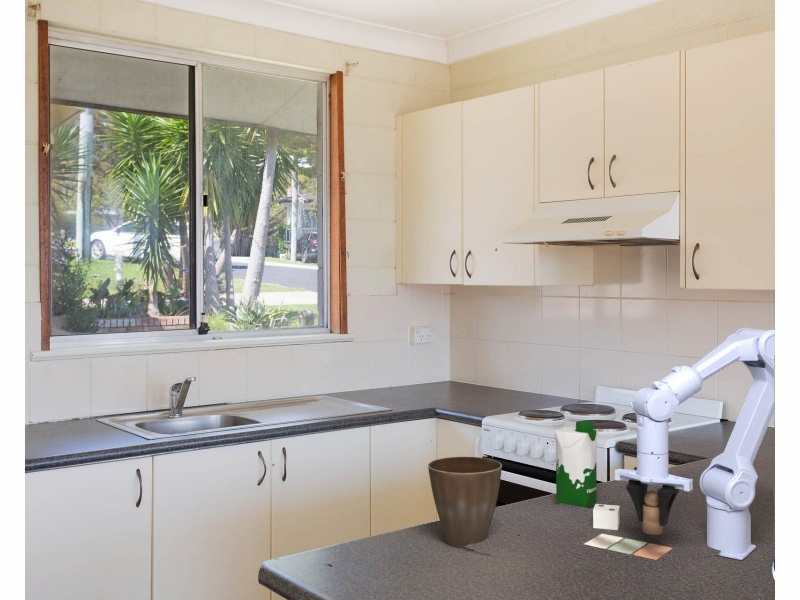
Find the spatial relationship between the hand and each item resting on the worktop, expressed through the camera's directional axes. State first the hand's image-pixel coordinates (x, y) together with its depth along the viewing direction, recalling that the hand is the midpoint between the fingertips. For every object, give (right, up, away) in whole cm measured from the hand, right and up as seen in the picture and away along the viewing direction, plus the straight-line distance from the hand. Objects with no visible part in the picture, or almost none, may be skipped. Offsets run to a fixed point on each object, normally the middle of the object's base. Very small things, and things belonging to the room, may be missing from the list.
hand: (652, 522), depth 151 cm
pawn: (0, -2, 0) cm, 2 cm away
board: (-4, -7, +3) cm, 8 cm away
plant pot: (-35, -7, +9) cm, 37 cm away
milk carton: (-6, -6, +36) cm, 37 cm away
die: (-4, -7, +17) cm, 18 cm away
